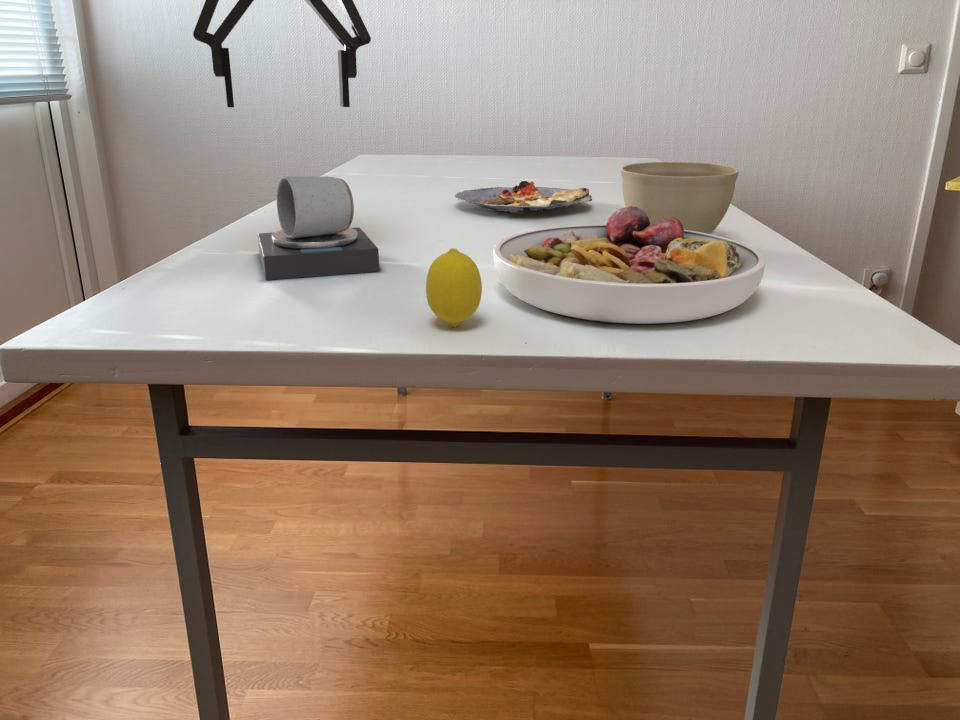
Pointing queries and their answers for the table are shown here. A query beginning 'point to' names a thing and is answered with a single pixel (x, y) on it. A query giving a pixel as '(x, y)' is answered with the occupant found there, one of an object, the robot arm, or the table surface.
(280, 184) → the ceramic mug
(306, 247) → the scale pan
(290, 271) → the scale
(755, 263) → the bowl
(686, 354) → the table surface
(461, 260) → the lemon
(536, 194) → the food plate
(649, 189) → the planter bowl
